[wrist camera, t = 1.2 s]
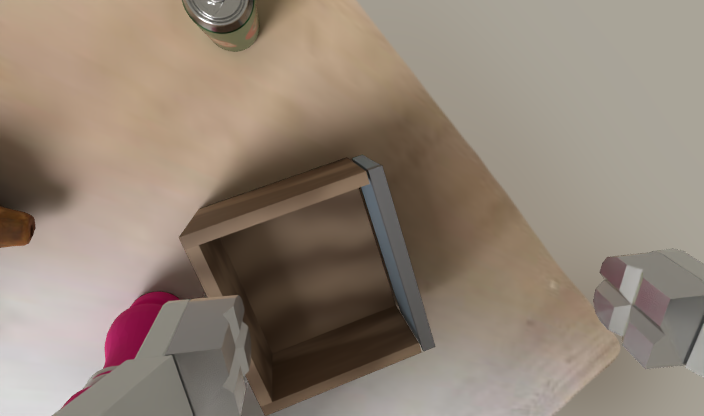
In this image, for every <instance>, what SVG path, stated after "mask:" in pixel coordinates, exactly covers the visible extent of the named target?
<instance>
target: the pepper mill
mask: <svg viewBox="0 0 704 416" xmlns="http://www.w3.org/2000/svg"><path fill="white" fill-rule="evenodd" d="M176 300H180V299H179V298H178V297H176V296H174V295H172V294H170V293H166V292H151V293H147V294H145V295H142V296H141V297H139V298H138V299H137V300H136V301H135V302H134V303H133V304H132V305H131V307H130V308H129V309H127V310H126V311H124V312H123V313H121V314H120V315H119V316H118V317H117V318H116V319H115V321H114V322H113V324H112V326H111V327H110V329H109V331H108V333H107V337H106V342H105V360H106V361H105V366H104V368H103V369H102V370H100V371H98V372H96V373H95V374H94V375H93V376H92V377H91V378H90V379H89V381H88V382H87V384H86V385H85V387H84V388H83V390H81V391H79V392H77V393H76V394H74V395H73V396H72V397H71V398H70V399H69V400H68V401H67V402H66V403H65V404H64V406H66V405H67V404H68V403H70V402H71V401H72V400H74V399H75V398H76V397H78V396H79V395H80V394H82V393H83V392H84V391H86V390H87V389H88V388H90V387H91V386H92V385H94V384H95V383H96V382H98V381H99V380H100V379H102V378H103V377H104V376H106V375H107V374H109V373H110V372H111V371H113V370H114V369H115V368H117V367H118V366H119V365H121V364H122V363H123V362H125V361H126V360H132V359H135V357H136V355H137V353H138V351H139V349H140V348H141V346H142V344H143V342H144V340H145V338H146V336H147V334H148V332H149V331H150V329H151V327H152V325H153V323H154V321H155V319H156V317H157V315H158V314H159V312H160V310H161V308H162V306H163V305H164V304H165V303H167V302H168V301H176ZM64 406H63V407H64ZM63 407H62V408H63ZM62 408H61V409H62Z"/></svg>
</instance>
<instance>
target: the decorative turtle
mask: <svg viewBox="0 0 704 416" xmlns="http://www.w3.org/2000/svg"><path fill="white" fill-rule="evenodd" d="M34 230H35V219H34V217H33V216H32V215H30V214H28V213H25V212H22V211H18V210H13V209H9V208H5V207H2V206H0V248H2V247H10V246H24V245H26V244H28V243H29V242H30V240H31V238H32V236H33V234H34Z"/></svg>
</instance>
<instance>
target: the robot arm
mask: <svg viewBox="0 0 704 416" xmlns="http://www.w3.org/2000/svg"><path fill="white" fill-rule="evenodd" d="M600 274H601V275H602V277H603V279H604V281H603V282H602V283H601V284H600V285H599V286H598V287H597V288H596V290H595V294H594V299H593V302H594V307H595V312H596V314H597V316H598V318H599V320H600V321H601V323H602V324H603V325H604V326H605V327H606V328H607V329H608V330H609V331H612V332H614V333H616V334H618V335H620V336H622V345H623V346H624V347H625V348H626V349H627V351H628V352H629V353H630V354H631V355H632V356H633V357H634V358H635V359H636V360H637V361H638V362H639V363H640V364H641V365H642V366H643V367H644V368H645V369H649V368H661V367H670V366H671V367H672V366H683V365H686V367H685V368H687V369H689V370H691V371H693V372H694V373H696V374H698V375H699V376H701V377H703V378H704V264H703V263H702V262H700V261H699V260H697V259H695V258H693V257H692V256H690V255H689V254H687V253H686V252H684V251H682V250H678V249H666V250H659V251H652V252H649V253H640V254H631V255H621V256H613V257H607V258H606V259H605V261H604V262H603V263H602V266H601V270H600ZM244 311H245V310H244V306H243V302H242V298H241V297H240V296H239V295H232V296H220V297H208V298H196V299H192V300H191V299H186V300H176V301H168V302H167V303H165V304H164V305H163V306H162V308H161V310H160V312H159V314H158V315H157V317H156V319H155V321H154V323H153V325H152V327H151V329H150V331H149V332H148V334H147V336H146V338H145V340H144V342H143V344H142V346H141V348H140V349H139V351H138V353H137V355H136V357H135V359H132V360H126V361H125V362H123V363H122V364H121V365H119V366H118V367H117V368H115V369H114V370H113V371H111V372H110V373H109V374H107V375H106V376H104V377H103V378H102V379H100V380H99V381H98V382H96V383H95V384H94V385H92V386H91V387H90V388H88V389H87V390H86V391H84V392H83V393H82V394H80V395H79V396H78V397H76V398H75V399H74V400H72V401H71V402H70V403H68V404H67V405H66V406H64V407H63V408H62V409H60V410H59V411H58V412H56V413H55V414H54V415H52V416H241V412H242V406H243V401H244V396H245V391H246V387H245V382H244V378H243V377H244V376H245V374H246V373H247V372H248V371H249V369H250V363H251V337H250V331H249V327H248V325H246V324H245V323H244V322H243V321H242V320H243V315H244Z"/></svg>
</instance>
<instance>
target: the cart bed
mask: <svg viewBox="0 0 704 416" xmlns="http://www.w3.org/2000/svg"><path fill="white" fill-rule="evenodd" d="M368 184H370V183H369V179H368V176H367V173H366V171H365V170H363V169H362V168H361V167H359V166H358V165H357V164H355V163H354V162H352V161H351V160H350V159H348V158H344V159H341V160H338V161H335V162H333V163H330V164H327V165H324V166H321V167H318V168H315V169H312V170H310V171H307V172H304V173H301V174H298V175H295V176H292V177H290V178H287V179H284V180H281V181H278V182H275V183H272V184H270V185H267V186H264V187H261V188H258V189H255V190H252V191H249V192H247V193H244V194H241V195H238V196H235V197H232V198H229V199H227V200H224V201H221V202H218V203H215V204H212V205H209V206H206V207H204V208H201V209H199V210H198V211H197V212H196V214H195V215H194V217H193V218H192V220H191V221H190V222H189V224H188V225H187V227H186V228H185V229H184V231H183V232H182V234H181V235H180V237H179V239H180V241H181V243H182V245H183V248H184V250H185V252H186V254H187V256H188V258H189V260H190V262H191V264H192V266H193V268H194V270H195V272H196V274H197V276H198V279H199V281H200V283H201V285H202V287H203V289H204V291H205V293H206V295H207V297H220V296H232V295H239V296H240V297H241V298H242V302H243V306H244V310H245V311H244V315H243V320H242V321H243V322H244V323H245V324H246V325H248V327H249V331H250V337H251V363H250V369H249V371H248V372H247V373H246V374H245V376H246V378H247V380H248V382H249V384H250V386H251V388H252V390H253V392H254V394H255V396H256V398H257V400H258V403H259V405H260V407H261V409H262V411H263V413H264V415H265V416H267V415H269V414H272V413H274V412H276V411H279V410H281V409H284V408H286V407H289V406H291V405H294V404H296V403H298V402H301V401H303V400H306V399H308V398H311V397H313V396H316V395H318V394H321V393H323V392H325V391H328V390H330V389H333V388H335V387H338V386H340V385H343V384H345V383H348V382H350V381H352V380H355V379H357V378H360V377H362V376H365V375H367V374H370V373H372V372H375V371H377V370H379V369H382V368H384V367H387V366H389V365H392V364H394V363H397V362H399V361H401V360H404V359H406V358H409V357H411V356H414V355H416V354H419V353H421V348H420V345H419V342H418V341H417V339H416V338H415V336H414V334H413V333H412V331H411V329H410V328H409V326H408V324H407V323H406V321H405V319H404V318H403V316H402V315H401V313H400V311H399V310H398V308H397V306H396V304H395V301H394V298H393V295H392V292H391V288H390V285H389V282H388V279H387V276H386V273H385V270H384V266H383V263H382V260H381V257H380V254H379V251H378V248H377V244H376V241H375V238H374V235H373V232H372V229H371V226H370V222H369V219H368V216H367V213H366V210H365V207H364V204H363V200H362V197H361V194H360V191H359V188H360V187H363V186H365V185H368Z"/></svg>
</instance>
